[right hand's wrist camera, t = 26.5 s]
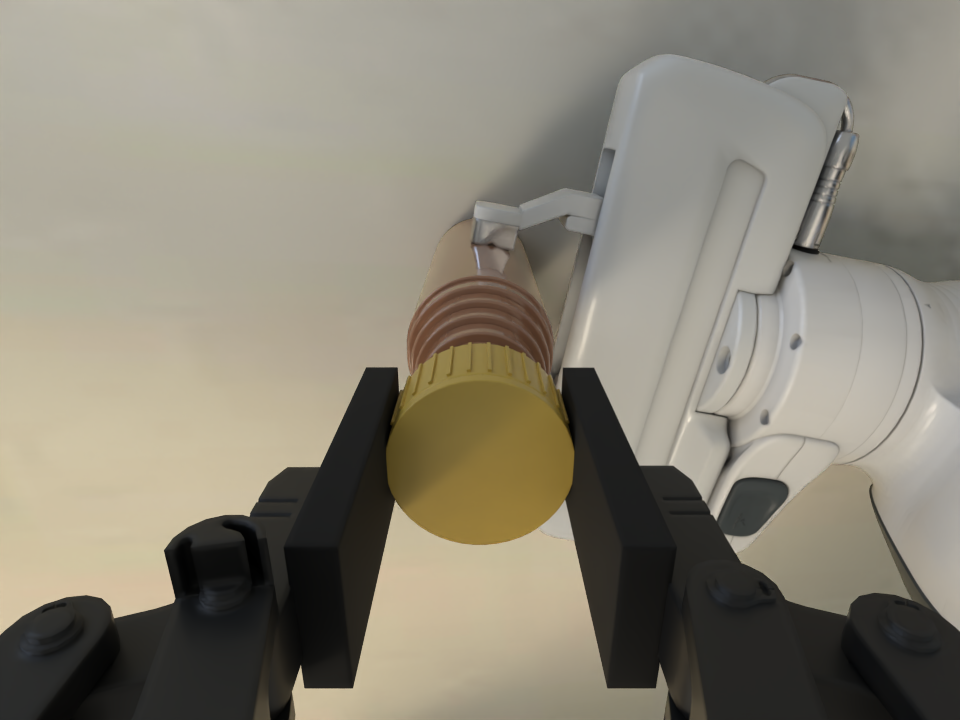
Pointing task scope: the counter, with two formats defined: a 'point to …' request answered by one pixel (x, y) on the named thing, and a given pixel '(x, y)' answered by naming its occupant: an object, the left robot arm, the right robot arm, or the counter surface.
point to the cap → (480, 445)
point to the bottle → (479, 302)
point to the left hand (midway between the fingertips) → (458, 295)
